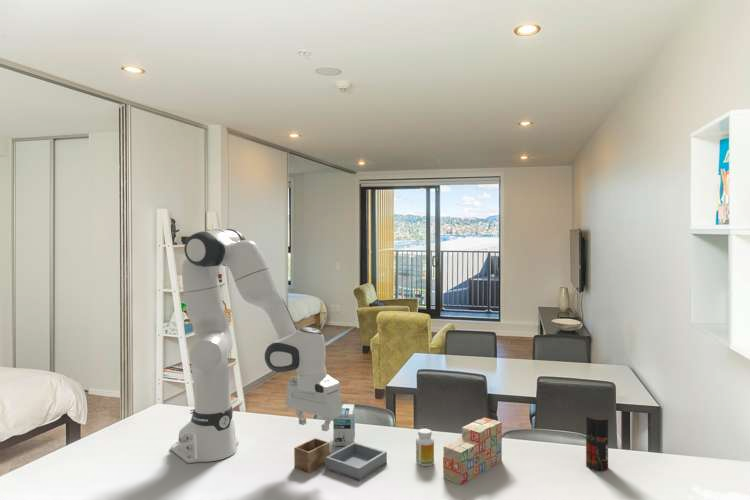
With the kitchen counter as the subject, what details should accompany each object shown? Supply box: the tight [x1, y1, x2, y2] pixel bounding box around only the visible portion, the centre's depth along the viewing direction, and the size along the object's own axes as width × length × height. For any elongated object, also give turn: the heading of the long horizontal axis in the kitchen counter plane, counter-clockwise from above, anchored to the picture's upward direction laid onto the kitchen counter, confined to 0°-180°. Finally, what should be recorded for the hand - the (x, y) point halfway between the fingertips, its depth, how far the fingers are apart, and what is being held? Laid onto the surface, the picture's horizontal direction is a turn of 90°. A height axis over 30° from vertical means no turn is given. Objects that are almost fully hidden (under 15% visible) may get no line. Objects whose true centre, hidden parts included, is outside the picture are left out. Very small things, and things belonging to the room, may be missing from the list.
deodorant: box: [585, 412, 609, 472], centre depth 146 cm, size 6×6×15 cm
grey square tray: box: [325, 441, 388, 482], centre depth 147 cm, size 13×14×4 cm
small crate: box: [293, 437, 331, 474], centre depth 148 cm, size 9×6×6 cm, turn 144°
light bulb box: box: [332, 403, 356, 447], centre depth 167 cm, size 11×7×11 cm, turn 179°
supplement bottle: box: [415, 428, 435, 467], centre depth 149 cm, size 5×5×10 cm
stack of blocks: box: [442, 417, 503, 486], centre depth 145 cm, size 21×6×12 cm, turn 135°
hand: (313, 427), depth 148 cm, fingers open, 8 cm apart
